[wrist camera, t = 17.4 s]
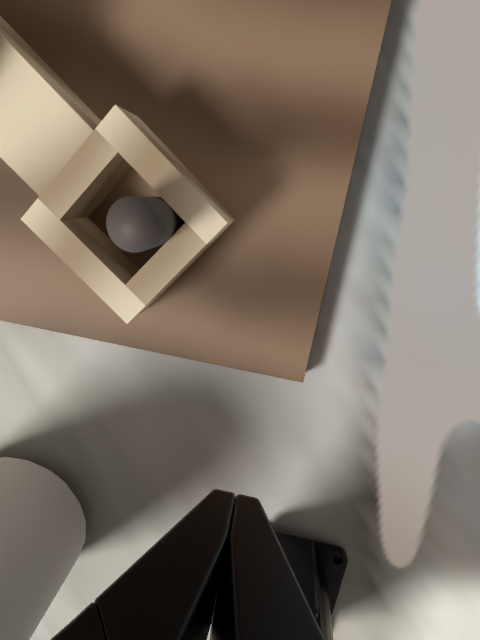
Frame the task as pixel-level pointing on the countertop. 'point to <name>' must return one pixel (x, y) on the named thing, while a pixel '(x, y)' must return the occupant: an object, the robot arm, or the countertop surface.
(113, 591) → the robot arm
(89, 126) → the link
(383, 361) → the countertop surface
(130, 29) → the base board
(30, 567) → the can
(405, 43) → the countertop surface
